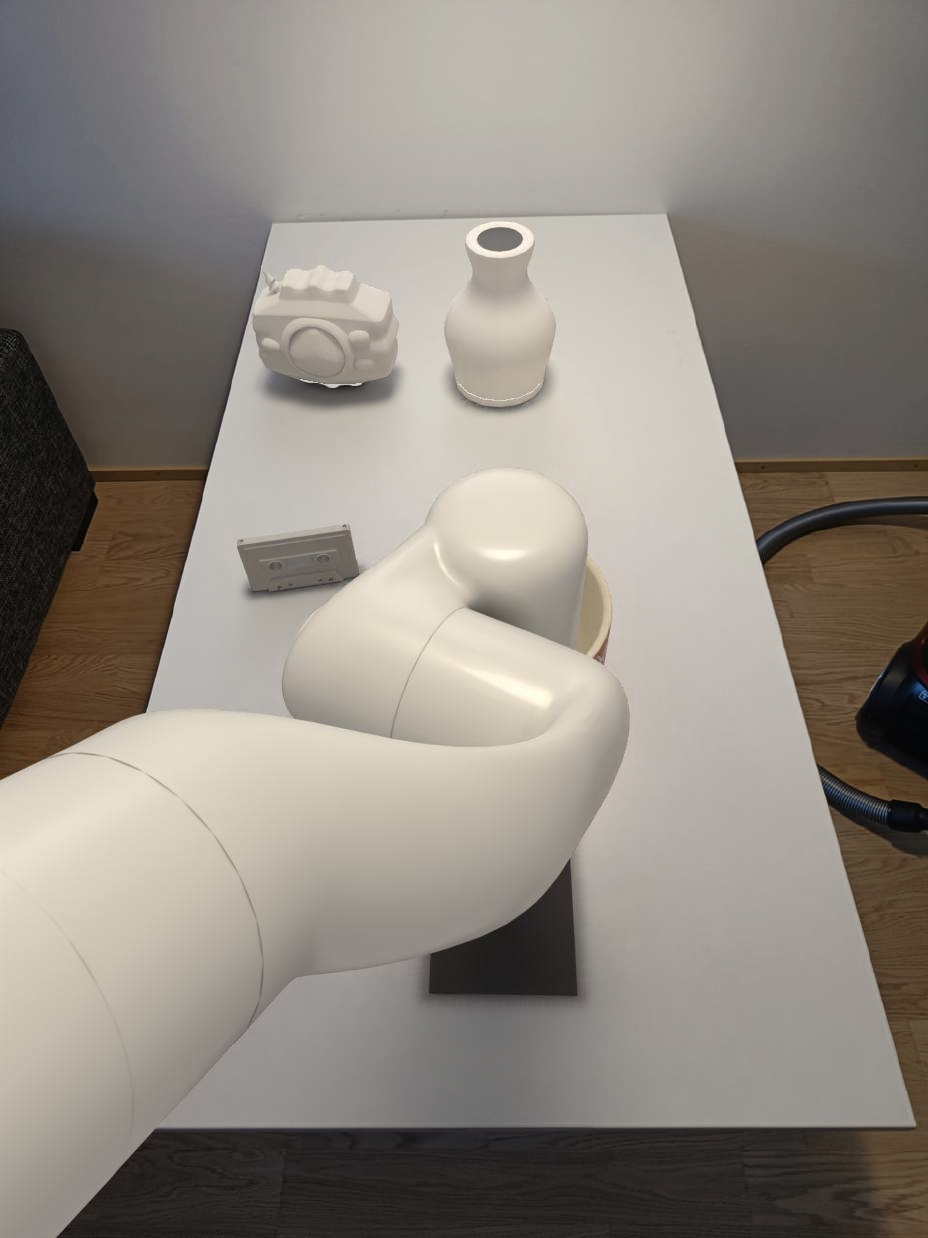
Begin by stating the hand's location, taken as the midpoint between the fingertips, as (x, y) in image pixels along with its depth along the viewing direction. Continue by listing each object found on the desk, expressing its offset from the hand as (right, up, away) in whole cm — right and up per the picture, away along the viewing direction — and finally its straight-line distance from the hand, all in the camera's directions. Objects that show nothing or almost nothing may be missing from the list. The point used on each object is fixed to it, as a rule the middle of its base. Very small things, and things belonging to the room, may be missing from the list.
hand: (502, 812), depth 62 cm
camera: (-20, +46, +57) cm, 76 cm away
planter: (+1, +6, +26) cm, 27 cm away
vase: (+2, +46, +57) cm, 73 cm away
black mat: (+1, -10, +14) cm, 17 cm away
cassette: (-20, +18, +36) cm, 45 cm away
